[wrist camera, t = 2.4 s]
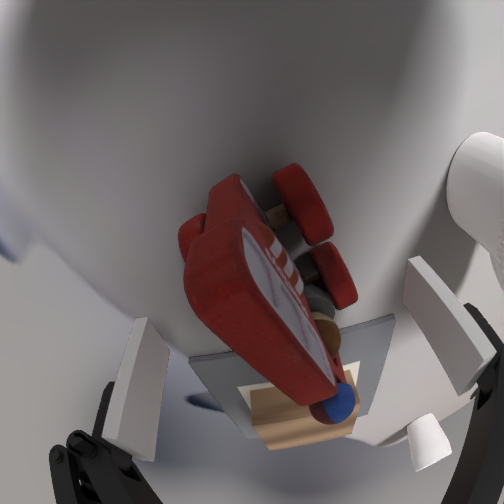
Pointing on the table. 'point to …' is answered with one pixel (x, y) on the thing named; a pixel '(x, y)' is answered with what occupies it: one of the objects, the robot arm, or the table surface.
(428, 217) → the table surface
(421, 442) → the cup
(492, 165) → the mug
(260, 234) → the toy fire truck
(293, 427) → the base block
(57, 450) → the robot arm
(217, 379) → the mat
